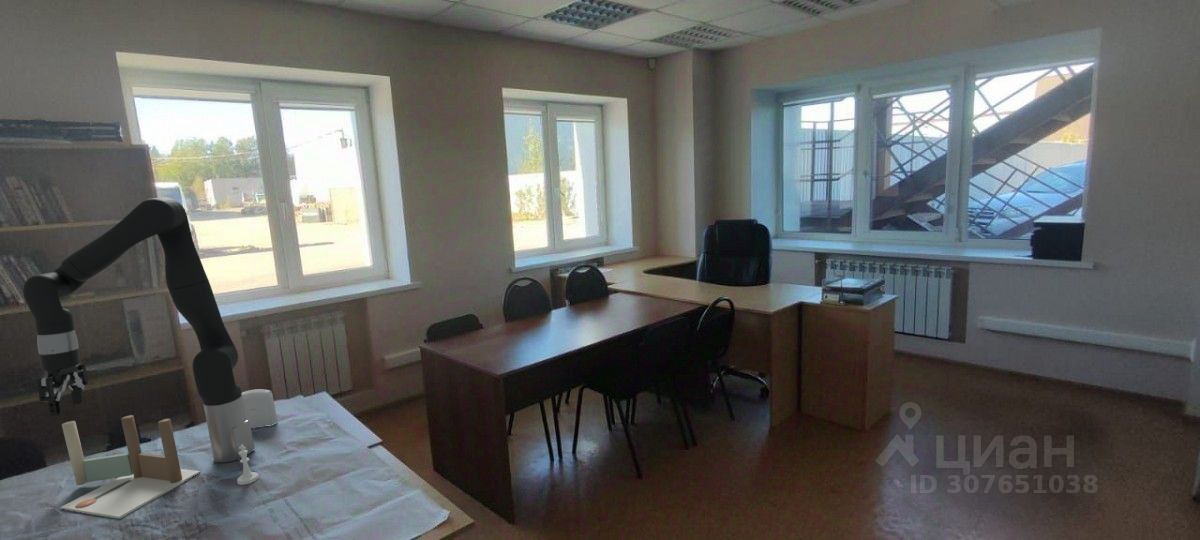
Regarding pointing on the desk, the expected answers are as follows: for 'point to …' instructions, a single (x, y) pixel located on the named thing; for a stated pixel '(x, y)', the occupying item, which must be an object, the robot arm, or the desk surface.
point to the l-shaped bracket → (93, 460)
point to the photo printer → (259, 407)
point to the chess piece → (246, 469)
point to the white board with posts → (136, 477)
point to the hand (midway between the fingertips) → (67, 409)
